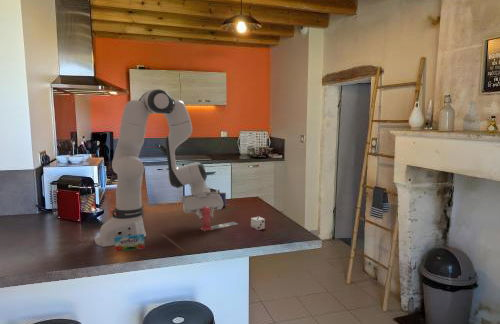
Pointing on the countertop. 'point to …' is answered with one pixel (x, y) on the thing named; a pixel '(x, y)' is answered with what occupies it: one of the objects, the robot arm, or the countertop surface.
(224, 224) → the game strip
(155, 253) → the countertop surface
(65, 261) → the countertop surface
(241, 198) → the countertop surface
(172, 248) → the countertop surface
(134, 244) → the colorful food package
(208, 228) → the pawn
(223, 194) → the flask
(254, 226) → the die
